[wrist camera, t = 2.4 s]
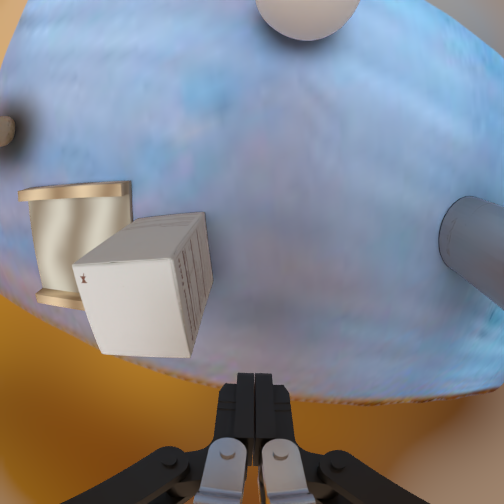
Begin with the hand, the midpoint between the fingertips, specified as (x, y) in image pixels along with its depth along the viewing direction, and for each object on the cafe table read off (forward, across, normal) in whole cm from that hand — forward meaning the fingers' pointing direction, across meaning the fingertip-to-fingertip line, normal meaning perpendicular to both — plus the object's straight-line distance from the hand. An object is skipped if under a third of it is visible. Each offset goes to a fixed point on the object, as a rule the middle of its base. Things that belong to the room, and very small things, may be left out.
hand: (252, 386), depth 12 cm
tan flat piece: (+18, +20, 0) cm, 27 cm away
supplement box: (+18, +8, 0) cm, 20 cm away
